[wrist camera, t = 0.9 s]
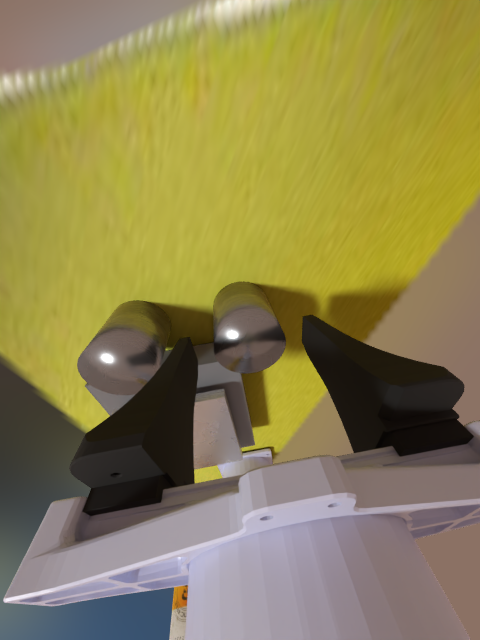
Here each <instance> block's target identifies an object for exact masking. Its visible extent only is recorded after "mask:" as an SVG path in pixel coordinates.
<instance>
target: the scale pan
mask: <svg viewBox="0 0 480 640" xmlns="http://www.w3.org/2000/svg"><path fill="white" fill-rule="evenodd" d="M119 409H120V408H117V409H114V410H113V412H112V414H114V413H115V412H116V411H117V410H119ZM112 414H111V415H112ZM193 447H194V469H199V468H204V467H210V466H215V465H220V464H225V463H231V462H236V461H241V460H243V455H242V450H241V446H240V443H239V439H238V436H237V432H236V429H235V425H234V422H233V418H232V415H231V411H230V408H229V404H228V401H227V397H226V394H225V390H224V389H219V390H214V391H209V392H203V393H198V394H196V397H195V406H194V430H193Z"/></svg>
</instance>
